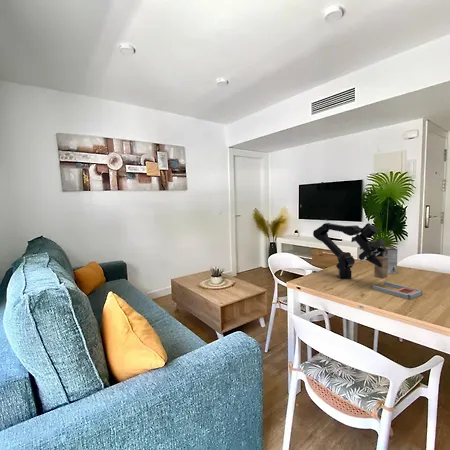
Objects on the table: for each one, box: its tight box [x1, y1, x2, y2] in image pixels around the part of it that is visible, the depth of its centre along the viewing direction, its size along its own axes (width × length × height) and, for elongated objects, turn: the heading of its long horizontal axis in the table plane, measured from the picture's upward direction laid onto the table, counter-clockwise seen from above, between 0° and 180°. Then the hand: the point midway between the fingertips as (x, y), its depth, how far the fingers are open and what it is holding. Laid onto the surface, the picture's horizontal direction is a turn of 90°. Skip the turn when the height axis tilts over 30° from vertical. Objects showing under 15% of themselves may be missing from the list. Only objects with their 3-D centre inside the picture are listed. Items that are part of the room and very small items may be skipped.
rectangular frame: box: [395, 287, 416, 295], centre depth 127 cm, size 6×9×2 cm, turn 119°
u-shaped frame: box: [372, 281, 423, 301], centre depth 131 cm, size 18×12×2 cm, turn 29°
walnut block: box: [373, 256, 389, 280], centre depth 137 cm, size 4×4×11 cm
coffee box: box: [383, 246, 398, 275], centre depth 164 cm, size 9×6×16 cm
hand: (383, 265), depth 135 cm, fingers closed on walnut block, 4 cm apart
